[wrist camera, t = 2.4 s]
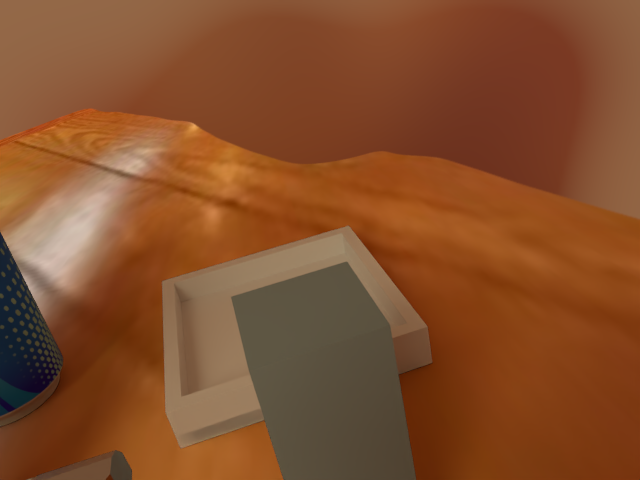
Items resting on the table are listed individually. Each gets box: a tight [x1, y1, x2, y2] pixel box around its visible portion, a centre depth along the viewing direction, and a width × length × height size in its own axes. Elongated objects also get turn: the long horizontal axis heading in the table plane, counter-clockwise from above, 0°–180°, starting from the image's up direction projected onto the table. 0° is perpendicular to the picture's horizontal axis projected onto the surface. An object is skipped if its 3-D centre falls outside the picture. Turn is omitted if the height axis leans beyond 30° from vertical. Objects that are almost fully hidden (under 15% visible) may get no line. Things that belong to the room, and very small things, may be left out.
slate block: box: [231, 261, 416, 480], centre depth 25 cm, size 5×5×14 cm
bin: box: [162, 226, 432, 448], centre depth 44 cm, size 17×17×3 cm
